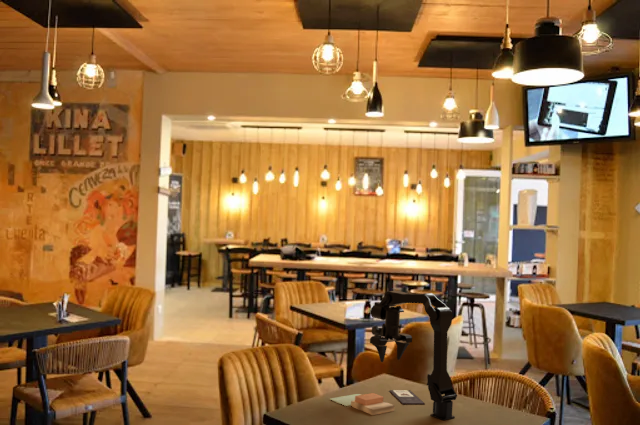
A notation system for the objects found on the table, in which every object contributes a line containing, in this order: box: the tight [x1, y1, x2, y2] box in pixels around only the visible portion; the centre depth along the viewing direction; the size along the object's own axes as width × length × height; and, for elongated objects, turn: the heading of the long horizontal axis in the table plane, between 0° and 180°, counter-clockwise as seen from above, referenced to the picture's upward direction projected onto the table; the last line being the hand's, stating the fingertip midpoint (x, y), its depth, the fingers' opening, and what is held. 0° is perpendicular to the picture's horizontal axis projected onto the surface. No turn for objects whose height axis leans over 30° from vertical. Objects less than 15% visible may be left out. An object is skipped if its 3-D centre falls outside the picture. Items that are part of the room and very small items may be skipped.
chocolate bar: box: [389, 389, 426, 406], centre depth 248 cm, size 9×1×18 cm
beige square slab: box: [350, 400, 395, 416], centre depth 231 cm, size 12×11×2 cm
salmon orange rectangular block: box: [355, 392, 384, 406], centre depth 233 cm, size 6×9×2 cm, turn 128°
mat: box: [329, 393, 361, 407], centre depth 240 cm, size 10×15×1 cm, turn 128°
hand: (390, 360), depth 248 cm, fingers open, 9 cm apart
